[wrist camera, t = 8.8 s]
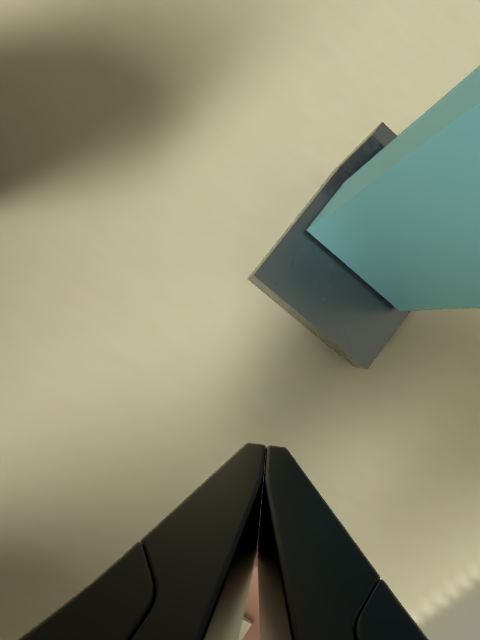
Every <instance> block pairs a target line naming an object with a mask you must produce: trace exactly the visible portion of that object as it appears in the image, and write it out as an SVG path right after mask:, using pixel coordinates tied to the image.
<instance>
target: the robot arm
mask: <svg viewBox="0 0 480 640" xmlns="http://www.w3.org/2000/svg"><path fill="white" fill-rule="evenodd" d="M265 455H266V458H265ZM264 466H265V470H264ZM263 478H264V481H263ZM262 489H263V492H262ZM261 500H262V504H261ZM260 512H261V515H260ZM259 523H260V527H259ZM258 535H259V538H258ZM257 545H258V554H257V559H258V593H259V619H260V640H428V639H427V637H426V636H425V635H424V634H423V632H422V631H421V629H420V628H419V627H418V625H417V624H416V623H415V621H414V620H413V619H412V618H411V616H410V615H409V614H408V612H407V611H406V610H405V608H404V607H403V606H402V605H401V603H400V602H399V601H398V599H397V598H396V596H395V595H394V594H393V592H392V591H391V590H390V588H389V587H388V586H387V584H386V583H385V581H384V580H380V576H379V574H378V573H377V572H376V570H375V569H374V568H373V566H372V565H371V564H370V562H369V561H368V559H367V558H366V557H365V555H364V554H363V553H362V551H361V550H360V548H359V547H358V546H357V544H356V543H355V542H354V540H353V539H352V537H351V536H350V535H349V533H348V532H347V531H346V529H345V528H344V527H343V525H342V524H341V522H340V521H339V520H338V518H337V517H336V516H335V514H334V513H333V511H332V510H331V509H330V507H329V506H328V505H327V503H326V502H325V500H324V499H323V498H322V496H321V495H320V494H319V492H318V491H317V490H316V488H315V487H314V485H313V484H312V483H311V481H310V480H309V479H308V477H307V476H306V474H305V473H304V472H303V470H302V469H301V468H300V466H299V465H298V463H297V462H296V461H295V459H294V458H293V457H292V455H291V454H290V453H289V451H288V450H287V449H286V448H285V447H278V446H268V447H267V448H266V447H265V446H264V445H262V444H254V443H247V444H245V445H244V446H243V447H242V448H241V449H240V450H239V451H238V452H237V453H236V454H235V455H233V456H232V457H231V458H230V459H229V460H228V461H227V462H226V463H225V464H224V465H222V466H221V467H220V468H219V469H218V470H217V471H216V472H215V473H214V474H213V475H212V476H210V477H209V478H208V479H207V480H206V481H205V482H204V483H203V484H202V485H201V486H200V487H198V488H197V489H196V490H195V491H194V492H193V493H192V494H191V495H190V496H189V497H187V498H186V499H185V500H184V501H183V502H182V503H181V504H180V505H179V506H178V507H177V508H175V509H174V510H173V511H172V512H171V513H170V514H169V515H168V516H167V517H166V518H165V519H163V520H162V521H161V522H160V523H159V524H158V525H157V526H156V527H155V528H154V529H153V530H151V531H150V532H149V533H148V534H147V535H146V536H145V537H144V538H143V539H142V540H141V542H137V543H136V544H135V545H134V546H133V547H132V548H131V549H130V550H128V551H127V552H126V553H125V554H124V555H123V556H122V557H121V558H120V559H118V560H117V561H116V562H115V563H114V564H113V565H112V566H110V567H109V568H108V569H107V570H106V571H105V572H103V573H102V574H101V575H100V576H99V577H98V578H96V579H95V580H94V581H93V582H92V583H91V584H90V585H88V586H87V587H86V588H84V589H83V590H82V591H81V592H79V593H78V594H77V595H76V596H74V597H73V598H72V599H70V600H69V601H68V602H67V603H65V604H64V605H63V606H62V607H60V608H59V609H58V610H56V611H55V612H54V613H53V614H51V615H50V616H49V617H47V618H46V619H45V620H43V621H42V622H41V623H40V624H38V625H37V626H36V627H34V628H33V629H32V630H30V631H29V632H28V633H26V634H25V635H24V636H22V637H21V638H20V639H18V640H238V639H239V634H240V630H241V625H242V620H243V616H244V611H245V606H246V602H247V597H248V593H249V588H250V583H251V579H252V574H253V570H254V565H255V559H256V553H257Z"/></svg>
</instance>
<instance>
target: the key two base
mask: <svg viewBox="0 0 480 640" xmlns="http://www.w3.org/2000/svg"><path fill="white" fill-rule="evenodd" d="M396 137H397V135H396V134H394V133H393V132H392V131H391V130H390V129H389V128H388V127H387V126H386V125H385V124H384V123H383V122H382V123H381V124H380V125H379V126H378V127H377V128H376V129H375V130H374V131H373V132H372V133H371V134H370V135H369V136H368V137H367V138H366V139H365V140H364V141H363V142H362V143H361V144H360V145H359V146H358V147H357V148H356V149H355V150H354V151H353V152H352V153H351V154H350V155H349V156H348V157H347V158H346V159H345V160H344V161H343V162H342V163H341V164H340V165H339V166H338V167H337V168H336V169H335V170H334V171H333V172H332V174H331V175H330V176H329V178H328V179H327V180H326V181H325V183H324V184H323V185H322V186H321V188H320V189H319V190H318V191H317V193H316V194H315V195H314V196H313V198H312V199H311V200H310V201H309V203H308V204H307V205H306V206H305V208H304V209H303V210H302V211H301V213H300V214H299V215H298V216H297V218H296V219H295V220H294V221H293V223H292V224H291V225H290V226H289V228H288V229H287V230H286V231H285V233H284V234H283V235H282V236H281V238H280V239H279V240H278V241H277V243H276V244H275V245H274V247H273V248H272V249H271V250H270V252H269V253H268V254H267V255H266V257H265V258H264V259H263V260H262V262H261V263H260V264H259V265H258V267H257V268H256V269H255V270H254V272H253V273H252V274H251V275H250V277H249V278H248V279H249V280H250V281H251V282H252V283H253V284H255V285H256V286H257V287H258V288H259V289H261V290H262V291H263V292H264V293H265V294H267V295H268V296H269V297H270V298H272V299H273V300H274V301H275V302H276V303H278V304H279V305H280V306H281V307H282V308H284V309H285V310H286V311H287V312H288V313H290V314H291V315H292V316H293V317H294V318H296V319H297V320H298V321H299V322H301V323H302V324H303V325H304V326H305V327H307V328H308V329H309V330H310V331H311V332H313V333H314V334H315V335H316V336H317V337H319V338H320V339H321V340H322V341H323V342H325V343H326V344H327V345H328V346H330V347H331V348H332V349H333V350H334V351H336V352H337V353H338V354H339V355H340V356H342V357H343V358H344V359H345V360H346V361H348V362H349V363H350V364H351V365H352V366H356V367H359V368H363V369H368V367H369V366H370V365H371V363H372V362H373V361H374V359H375V358H376V356H377V355H378V354H379V352H380V351H381V350H382V348H383V347H384V346H385V344H386V343H387V342H388V340H389V339H390V337H391V336H392V335H393V333H394V332H395V331H396V329H397V328H398V327H399V325H400V324H401V322H402V321H403V320H404V318H405V317H406V316H407V314H408V313H409V312H410V310H408V311H399V310H398V309H396V308H395V307H394V306H393V305H392V304H391V303H390V302H388V301H387V300H386V299H385V298H384V297H383V296H382V295H380V294H379V293H378V292H377V291H376V290H375V289H373V288H372V287H371V286H370V285H369V284H368V283H367V282H365V281H364V280H363V279H362V278H361V277H360V276H359V275H357V274H356V273H355V272H354V271H353V270H352V269H351V268H349V267H348V266H347V265H346V264H345V263H344V262H342V261H341V260H340V259H339V258H338V257H337V256H336V255H334V254H333V253H332V252H331V251H330V250H329V249H328V248H326V247H325V246H324V245H323V244H322V243H321V242H320V241H318V240H317V239H316V238H315V237H314V236H313V235H311V234H310V233H309V232H308V231H307V229H308V227H309V226H310V225H311V224H312V222H313V221H314V220H315V218H316V217H317V216H318V215H319V213H320V212H321V211H322V210H323V208H324V207H325V206H326V205H327V203H328V202H329V201H330V200H331V198H332V197H333V196H334V194H335V193H336V192H337V191H338V189H339V188H340V187H341V186H342V184H343V183H344V182H345V181H346V180H347V179H348V178H350V177H351V176H352V175H353V174H354V173H355V172H357V171H358V170H359V169H360V168H361V167H362V166H363V165H365V164H366V163H367V162H368V161H369V160H370V159H372V158H373V157H374V156H375V155H376V154H377V153H379V152H380V151H381V150H382V149H383V148H384V147H386V146H387V145H388V144H389V143H390V142H391V141H393V140H394V139H395V138H396Z"/></svg>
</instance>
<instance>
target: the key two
mask: <svg viewBox="0 0 480 640" xmlns="http://www.w3.org/2000/svg"><path fill="white" fill-rule="evenodd" d="M307 231H308V232H309V233H310V234H311V235H313V236H314V237H315V238H316V239H317V240H318V241H320V242H321V243H322V244H323V245H324V246H325V247H326V248H328V249H329V250H330V251H331V252H332V253H333V254H334V255H336V256H337V257H338V258H339V259H340V260H341V261H342V262H344V263H345V264H346V265H347V266H348V267H349V268H351V269H352V270H353V271H354V272H355V273H356V274H357V275H359V276H360V277H361V278H362V279H363V280H364V281H365V282H367V283H368V284H369V285H370V286H371V287H372V288H373V289H375V290H376V291H377V292H378V293H379V294H380V295H382V296H383V297H384V298H385V299H386V300H387V301H388V302H390V303H391V304H392V305H393V306H394V307H395V308H396V309H398V310H399V311H408V310H433V309H458V308H480V66H479V67H477V68H476V69H475V70H474V71H473V72H472V73H470V74H469V75H468V76H467V77H466V78H465V79H463V80H462V81H461V82H460V83H459V84H458V85H456V86H455V87H454V88H453V89H452V90H451V91H449V92H448V93H447V94H446V95H445V96H444V97H443V98H441V99H440V100H439V101H438V102H437V103H436V104H434V105H433V106H432V107H431V108H430V109H429V110H427V111H426V112H425V113H424V114H423V115H422V116H420V117H419V118H418V119H417V120H416V121H415V122H413V123H412V124H411V125H410V126H409V127H408V128H406V129H405V130H404V131H403V132H402V133H401V134H400V135H398V136H397V137H396V138H395V139H394V140H393V141H391V142H390V143H389V144H388V145H387V146H386V147H384V148H383V149H382V150H381V151H380V152H379V153H377V154H376V155H375V156H374V157H373V158H372V159H370V160H369V161H368V162H367V163H366V164H365V165H363V166H362V167H361V168H360V169H359V170H358V171H357V172H355V173H354V174H353V175H352V176H351V177H350V178H348V179H347V180H346V181H345V182H344V183H343V184H342V186H341V187H340V188H339V189H338V191H337V192H336V193H335V194H334V196H333V197H332V198H331V200H330V201H329V202H328V203H327V205H326V206H325V207H324V208H323V210H322V211H321V212H320V213H319V215H318V216H317V217H316V218H315V220H314V221H313V222H312V224H311V225H310V226H309V227H308V229H307Z"/></svg>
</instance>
